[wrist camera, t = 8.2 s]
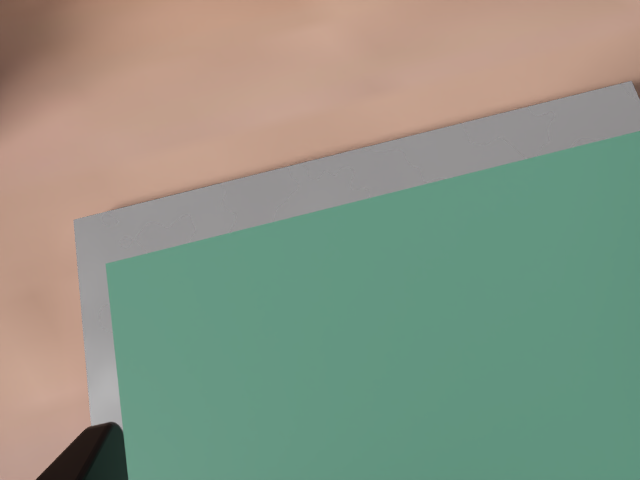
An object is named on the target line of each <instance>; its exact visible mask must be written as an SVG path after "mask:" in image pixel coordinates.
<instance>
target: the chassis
mask: <svg viewBox="0 0 640 480" xmlns="http://www.w3.org/2000/svg"><path fill="white" fill-rule="evenodd" d="M637 131H640V99H639V97H638V95H637V92H636V90H635V88H634V86H633V83H632V81H629V82H625V83H621V84H617V85H613V86H609V87H605V88H601V89H597V90H593V91H589V92H585V93H581V94H577V95H573V96H569V97H565V98H561V99H557V100H553V101H549V102H545V103H541V104H537V105H533V106H529V107H525V108H521V109H517V110H513V111H508V112H504V113H500V114H496V115H492V116H488V117H484V118H480V119H476V120H472V121H468V122H464V123H460V124H456V125H452V126H448V127H444V128H440V129H436V130H432V131H428V132H424V133H420V134H416V135H412V136H408V137H404V138H400V139H396V140H392V141H388V142H384V143H380V144H376V145H372V146H368V147H364V148H360V149H356V150H352V151H348V152H344V153H340V154H336V155H332V156H328V157H324V158H320V159H316V160H312V161H308V162H304V163H300V164H296V165H292V166H288V167H284V168H280V169H276V170H272V171H268V172H264V173H260V174H256V175H252V176H248V177H244V178H240V179H236V180H232V181H228V182H224V183H220V184H215V185H211V186H207V187H203V188H199V189H195V190H191V191H187V192H183V193H179V194H175V195H171V196H167V197H163V198H159V199H155V200H151V201H147V202H143V203H139V204H135V205H131V206H127V207H123V208H119V209H115V210H111V211H107V212H103V213H99V214H95V215H91V216H87V217H83V218H79V219H75V220H74V231H75V242H76V254H77V266H78V277H79V289H80V300H81V312H82V324H83V335H84V347H85V359H86V370H87V382H88V393H89V405H90V417H91V426H94V425H98V424H102V423H107V422H115V423H117V424H118V425H119V426H120V427H121V429H122V430H123V424H122V415H121V406H120V396H119V387H118V377H117V368H116V358H115V349H114V340H113V330H112V321H111V311H110V302H109V292H108V283H107V273H106V263H110V262H114V261H118V260H122V259H127V258H131V257H135V256H139V255H143V254H147V253H151V252H155V251H159V250H163V249H167V248H171V247H175V246H179V245H183V244H187V243H191V242H195V241H199V240H203V239H207V238H211V237H215V236H219V235H223V234H227V233H231V232H235V231H239V230H243V229H247V228H251V227H255V226H259V225H263V224H267V223H271V222H275V221H279V220H283V219H287V218H291V217H295V216H299V215H303V214H307V213H311V212H315V211H319V210H324V209H328V208H332V207H336V206H340V205H344V204H348V203H352V202H356V201H360V200H364V199H368V198H372V197H376V196H380V195H384V194H388V193H392V192H396V191H400V190H404V189H408V188H412V187H416V186H420V185H424V184H428V183H432V182H436V181H440V180H444V179H448V178H452V177H456V176H460V175H464V174H468V173H472V172H476V171H480V170H484V169H488V168H492V167H496V166H500V165H504V164H508V163H512V162H516V161H521V160H525V159H529V158H533V157H537V156H541V155H545V154H549V153H553V152H557V151H561V150H565V149H569V148H573V147H577V146H581V145H585V144H589V143H593V142H597V141H601V140H605V139H609V138H613V137H617V136H621V135H625V134H629V133H633V132H637Z"/></svg>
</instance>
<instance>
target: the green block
mask: <svg viewBox="0 0 640 480" xmlns="http://www.w3.org/2000/svg"><path fill="white" fill-rule="evenodd" d="M106 273H107V283H108V292H109V302H110V311H111V321H112V330H113V340H114V349H115V358H116V368H117V377H118V387H119V396H120V406H121V415H122V424H123V434H124V443H125V453H126V462H127V472H128V480H640V131H637V132H633V133H629V134H625V135H621V136H617V137H613V138H609V139H605V140H601V141H597V142H593V143H589V144H585V145H581V146H577V147H573V148H569V149H565V150H561V151H557V152H553V153H549V154H545V155H541V156H537V157H533V158H529V159H525V160H521V161H516V162H512V163H508V164H504V165H500V166H496V167H492V168H488V169H484V170H480V171H476V172H472V173H468V174H464V175H460V176H456V177H452V178H448V179H444V180H440V181H436V182H432V183H428V184H424V185H420V186H416V187H412V188H408V189H404V190H400V191H396V192H392V193H388V194H384V195H380V196H376V197H372V198H368V199H364V200H360V201H356V202H352V203H348V204H344V205H340V206H336V207H332V208H328V209H324V210H319V211H315V212H311V213H307V214H303V215H299V216H295V217H291V218H287V219H283V220H279V221H275V222H271V223H267V224H263V225H259V226H255V227H251V228H247V229H243V230H239V231H235V232H231V233H227V234H223V235H219V236H215V237H211V238H207V239H203V240H199V241H195V242H191V243H187V244H183V245H179V246H175V247H171V248H167V249H163V250H159V251H155V252H151V253H147V254H143V255H139V256H135V257H131V258H127V259H122V260H118V261H114V262H110V263H106Z"/></svg>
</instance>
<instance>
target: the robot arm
mask: <svg viewBox="0 0 640 480" xmlns="http://www.w3.org/2000/svg"><path fill="white" fill-rule="evenodd" d="M36 480H128V472H127V462H126V453H125V443H124V434H123V430H122V429H121V427H120V426H119V425H118V424H117V423H115V422H107V423H102V424H98V425H94V426H90V427H88V428H86V429H85V430H84V431H83V432H82V433H81V434H80V435H79V436H78V437H77V438H76V439H75V440H74V441H73V442H72V443H71V444H70V445H69V446H68V447H67V448H66V449H65V450H64V451H63V452H62V453H61V454H60V455H59V456H58V457H57V458H56V459H55V461H54V462H53V463H52V464H51V465H50V466H49V467H48V468H47V469H46V470H45V471H44V472H43V473H42V474H41V475H40V476H39V477H38V478H37V479H36Z"/></svg>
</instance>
